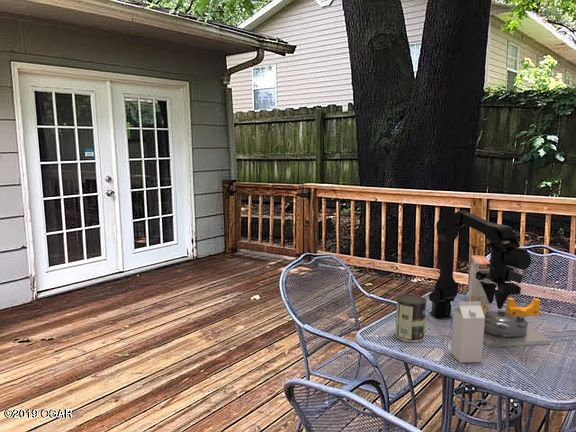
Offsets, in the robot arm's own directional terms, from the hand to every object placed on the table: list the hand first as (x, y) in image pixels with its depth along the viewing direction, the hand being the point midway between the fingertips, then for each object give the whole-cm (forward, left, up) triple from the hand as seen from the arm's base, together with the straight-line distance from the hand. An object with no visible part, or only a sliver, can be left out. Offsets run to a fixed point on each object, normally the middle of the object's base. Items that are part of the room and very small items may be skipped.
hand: (495, 305), depth 165 cm
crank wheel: (+8, +7, -11) cm, 15 cm away
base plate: (+7, +7, -13) cm, 17 cm away
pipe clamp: (+27, +23, -13) cm, 38 cm away
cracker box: (+12, +33, -13) cm, 38 cm away
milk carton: (-16, -11, -13) cm, 23 cm away
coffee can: (-28, +7, -13) cm, 31 cm away
